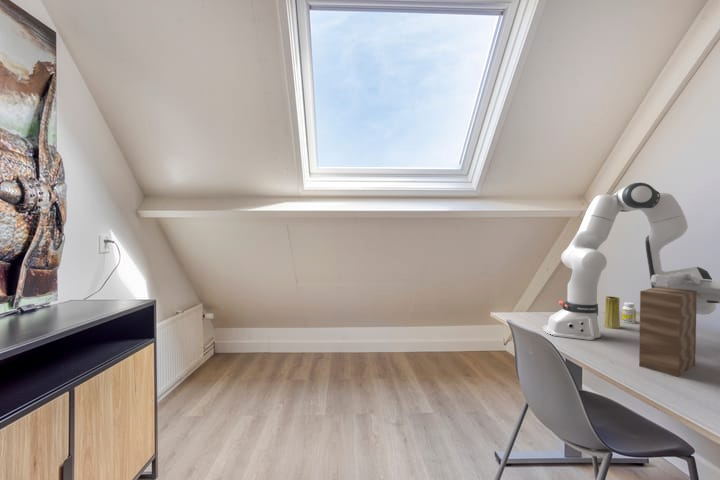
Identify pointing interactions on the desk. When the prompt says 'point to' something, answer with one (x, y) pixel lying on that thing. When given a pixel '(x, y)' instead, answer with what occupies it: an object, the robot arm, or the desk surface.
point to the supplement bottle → (628, 313)
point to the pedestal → (668, 330)
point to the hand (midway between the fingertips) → (681, 275)
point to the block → (672, 279)
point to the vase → (612, 313)
